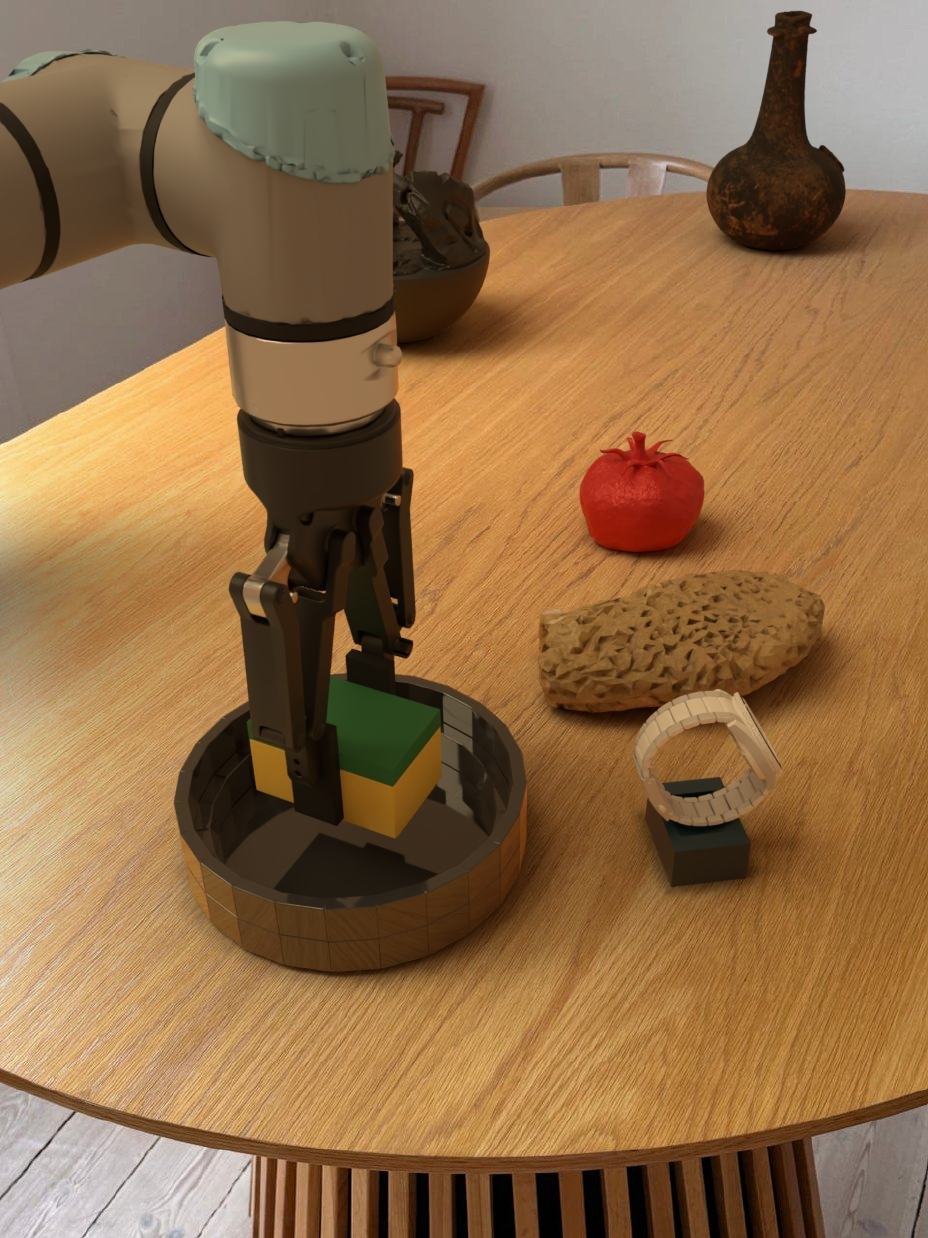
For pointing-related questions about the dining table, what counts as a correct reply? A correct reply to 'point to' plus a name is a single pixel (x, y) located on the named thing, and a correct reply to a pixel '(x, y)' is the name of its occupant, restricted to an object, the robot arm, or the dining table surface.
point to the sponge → (677, 641)
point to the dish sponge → (369, 756)
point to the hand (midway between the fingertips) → (348, 779)
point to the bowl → (355, 848)
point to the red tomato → (641, 497)
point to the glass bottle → (779, 159)
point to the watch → (704, 791)
